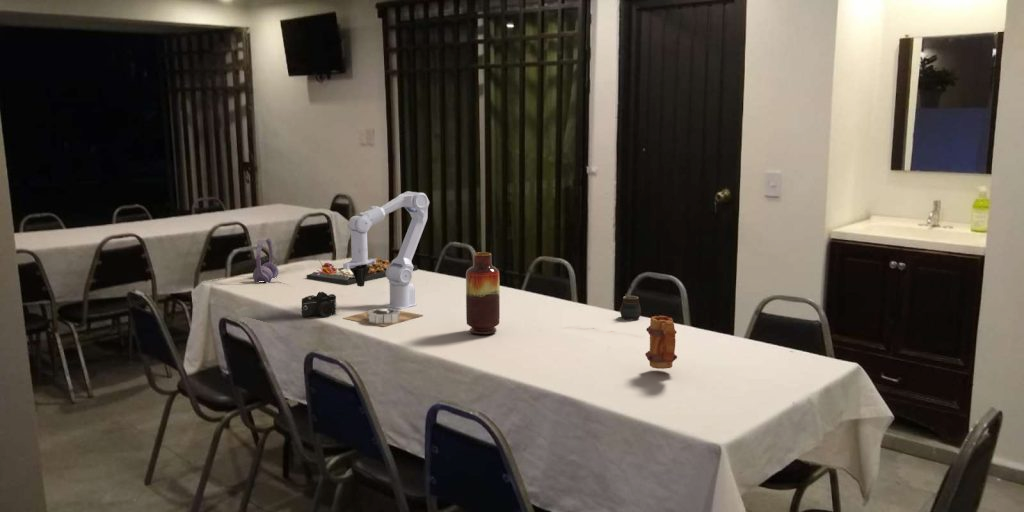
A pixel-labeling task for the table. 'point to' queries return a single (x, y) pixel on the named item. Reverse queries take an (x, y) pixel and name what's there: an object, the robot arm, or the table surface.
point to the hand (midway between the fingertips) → (360, 286)
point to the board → (363, 319)
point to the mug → (661, 342)
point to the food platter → (350, 273)
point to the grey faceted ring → (383, 316)
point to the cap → (382, 311)
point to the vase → (482, 295)
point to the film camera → (319, 305)
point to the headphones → (266, 269)
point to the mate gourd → (630, 307)
